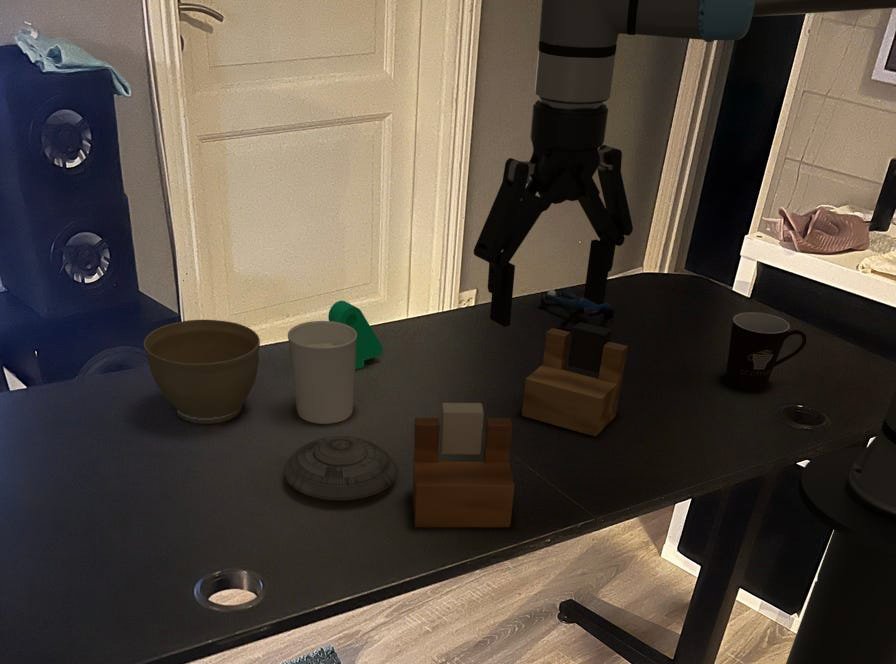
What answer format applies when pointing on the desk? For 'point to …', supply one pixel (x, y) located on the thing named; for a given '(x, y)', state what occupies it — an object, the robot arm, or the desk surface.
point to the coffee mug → (756, 349)
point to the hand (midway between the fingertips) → (547, 311)
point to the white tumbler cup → (323, 370)
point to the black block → (588, 346)
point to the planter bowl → (204, 366)
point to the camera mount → (357, 331)
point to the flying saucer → (340, 469)
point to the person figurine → (577, 305)
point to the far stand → (574, 388)
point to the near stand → (462, 480)
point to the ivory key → (461, 428)
